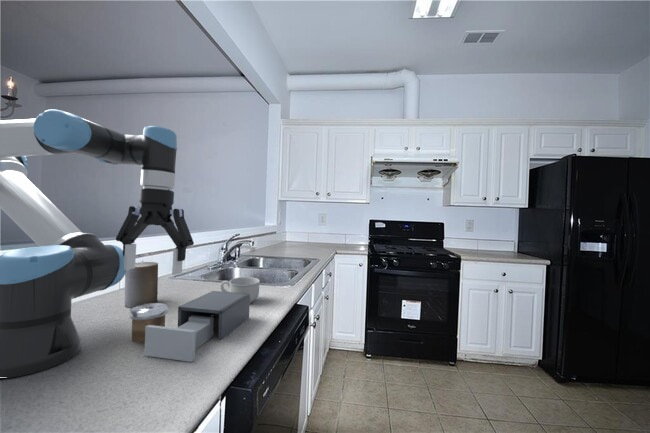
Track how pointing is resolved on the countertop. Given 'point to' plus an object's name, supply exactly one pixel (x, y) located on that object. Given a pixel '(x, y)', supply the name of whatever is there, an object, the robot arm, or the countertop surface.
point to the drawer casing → (218, 310)
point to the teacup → (243, 286)
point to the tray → (178, 339)
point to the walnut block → (140, 325)
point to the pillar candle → (141, 284)
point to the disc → (148, 311)
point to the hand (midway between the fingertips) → (152, 271)
